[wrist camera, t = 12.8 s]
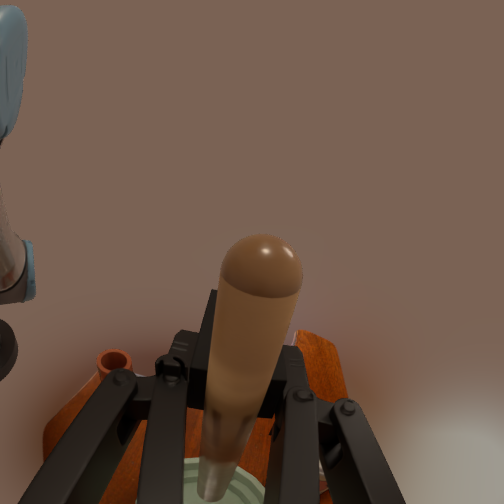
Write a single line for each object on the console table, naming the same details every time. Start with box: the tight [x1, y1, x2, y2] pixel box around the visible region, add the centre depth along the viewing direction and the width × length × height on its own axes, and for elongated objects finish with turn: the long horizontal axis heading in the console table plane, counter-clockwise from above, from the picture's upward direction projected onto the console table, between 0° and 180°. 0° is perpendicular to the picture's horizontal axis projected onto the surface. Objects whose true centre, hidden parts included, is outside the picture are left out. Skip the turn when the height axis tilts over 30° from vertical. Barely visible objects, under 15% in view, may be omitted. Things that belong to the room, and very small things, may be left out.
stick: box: [197, 234, 303, 502], centre depth 12 cm, size 2×2×24 cm
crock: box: [97, 349, 133, 382], centre depth 36 cm, size 5×6×10 cm
